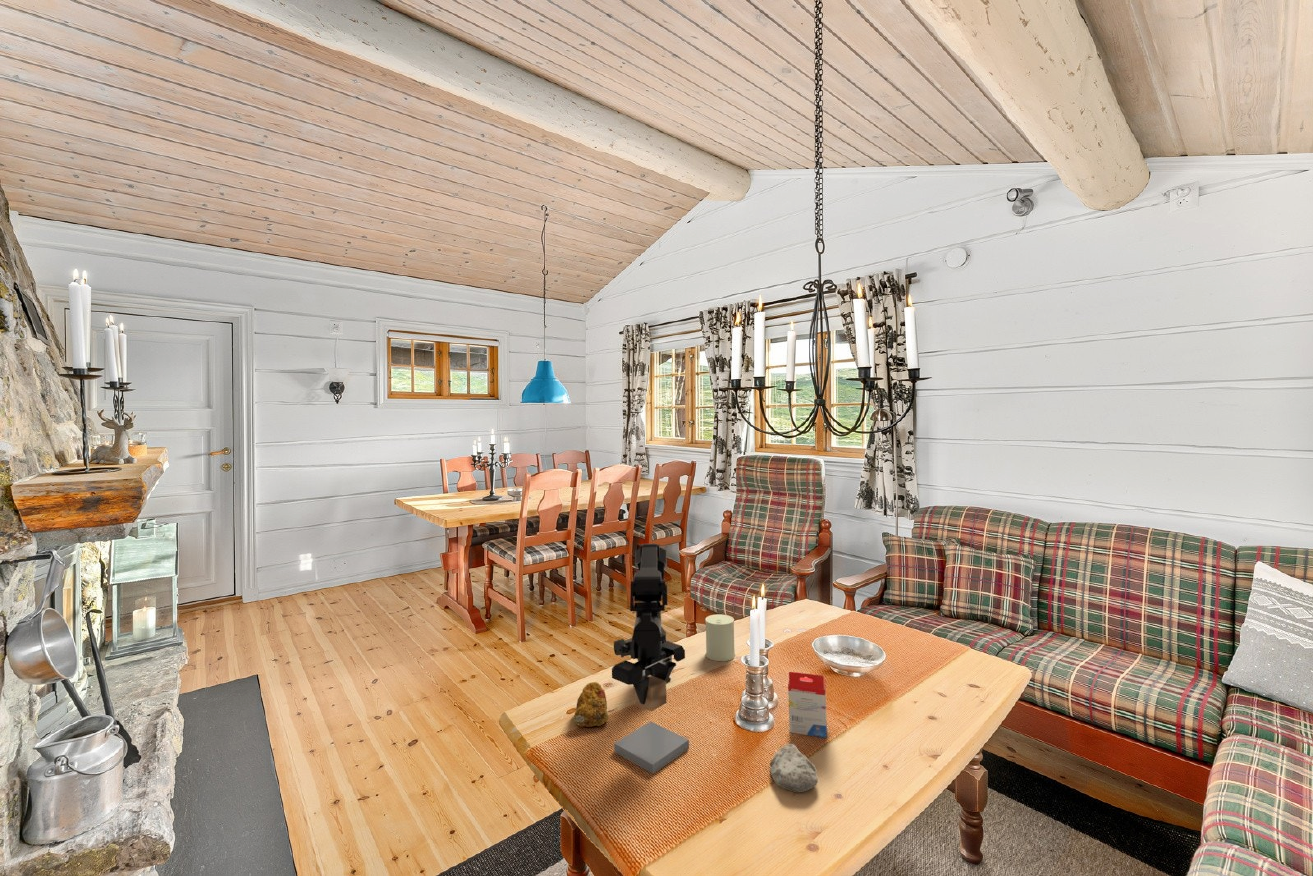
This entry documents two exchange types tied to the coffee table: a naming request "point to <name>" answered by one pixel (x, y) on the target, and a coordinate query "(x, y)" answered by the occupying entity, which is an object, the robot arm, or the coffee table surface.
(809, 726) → the ink box
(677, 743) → the plate
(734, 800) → the coffee table surface
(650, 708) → the walnut cube
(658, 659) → the robot arm
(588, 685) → the rock
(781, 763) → the decorative stone
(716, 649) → the pale green cylinder
